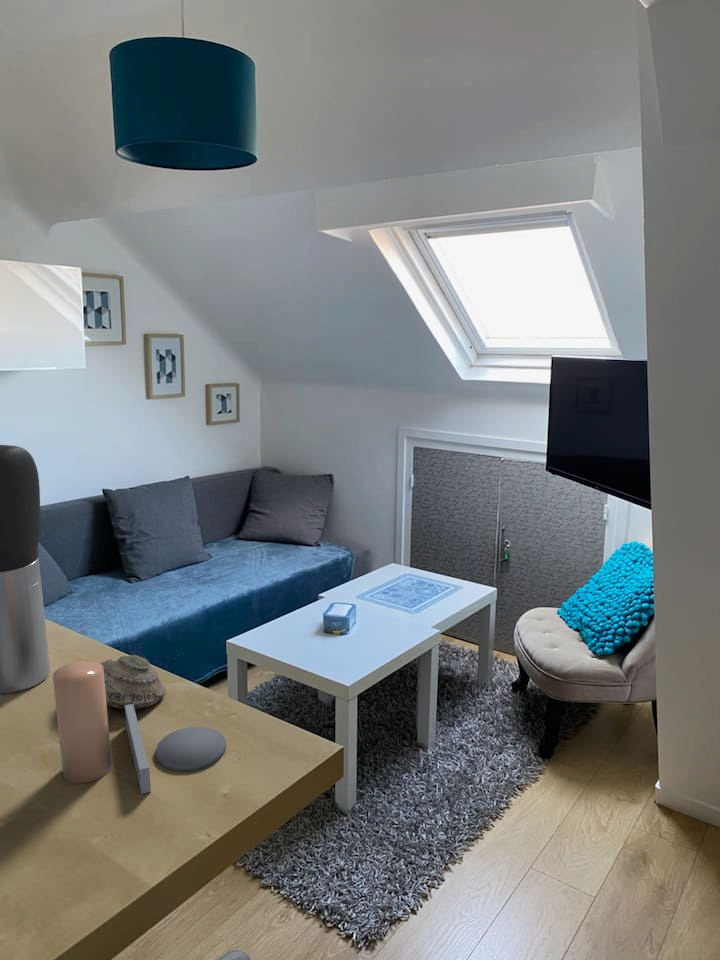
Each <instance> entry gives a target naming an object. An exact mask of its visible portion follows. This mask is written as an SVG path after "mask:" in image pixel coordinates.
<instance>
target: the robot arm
mask: <svg viewBox="0 0 720 960" xmlns="http://www.w3.org/2000/svg"><path fill="white" fill-rule="evenodd" d="M38 471H39V470H38V466H37V465H36V461H35V459H34V458H33V456H32V455H31V453H30V452H29V451H28V450H27V449H25V448H23V447H21V446H18V445H10V444H9V445H8V444H0V694H9V693H10V694H11V693H15V692H20V691H23V690H26V689H30V688H32V687H34V686H37V685H38V684H40V683H41V682H43V681H44V680H46V678H48V676H49V675H50V673H51V669H50V658H49V656H50V655H49V649H48V648H49V647H48V636H47V635H48V634H47V625H46V616H45V608H44V607H45V605H44V598H43V597H44V596H43V585H42V578H41V567H40V559H39V544H40V540H41V534H42V522H41V521H42V520H41V519H42V518H41V517H42V516H41V491H40V489H41V488H40V487H41V486H40V477H39V472H38Z"/></svg>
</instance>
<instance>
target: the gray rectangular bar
mask: <svg viewBox="0 0 720 960" xmlns="http://www.w3.org/2000/svg"><path fill="white" fill-rule="evenodd" d="M124 711H125V713H124V714H125V724H126V725H125V726H126V732H127V737H128V741H129V745H130V750H131V754H132V759H133V763H134V767H135V772H136V777H137V781H138V785H139V791H140V794H141V795H145V794H147V793H151V791H152V790H151V773H150V772H151V771H150V766H149V762H148V757H147V754H146V753H147V752H146V749H145V746H144V742H143V741H144V740H143V737H142V734H141V731H140V726H139V721H138V718H137V717H138V716H137V714H136V709H134V705H133V704H130V705H125V709H124Z"/></svg>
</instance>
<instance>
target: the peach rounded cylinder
mask: <svg viewBox="0 0 720 960" xmlns="http://www.w3.org/2000/svg"><path fill="white" fill-rule="evenodd" d="M100 663H101V662H98V661H93V660H80V661H79V660H78V661H73V662H71V663H66V664H64V665H62V666H60V667H58V668H57V669H56V670H55V671H54V672H53V674H52V681H53V692H54V702H55V710H56V711H55V712H56V720H57V721H56V723H57V732H58V739H59V741H58V742H59V748H60V749H59V750H60V758H61V760H60V761H61V770H62V777H63V778H64V780H65V781H67V782H70V783H74V784H84V783H85V784H87V783H90V782H94V781H96V780H98V779H101V778H103V777H104V776H105V775H107V774H108V773H109V772H110V770H111V769H112V765H113V764H112V753H111V752H112V751H111V740H110V730H109V718H108V717H109V716H108V706H107V704H106V692H105V681H104V669H103V666H102V664H100Z"/></svg>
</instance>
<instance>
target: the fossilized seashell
mask: <svg viewBox="0 0 720 960" xmlns="http://www.w3.org/2000/svg"><path fill="white" fill-rule="evenodd" d="M99 663H100V664H102V666H103V669H104V681H105V692H106V704H107V707H108V706H109V707H113V708H115V709H121V710H125V705H130V704H133V705H134V709H135V710H137V709H138V710H139V709H145V708H149V707H151V706H153V705H156V704H157V703H159V702H160V701H161V700H162V698H163V697H164V696H165V693H166V690H165V686H164V684H163V683H162V682H161V680H160V678H159V677H158V676H159V674H158V672H157V671H156V668H154V667H153V666H152V665H151V664H150V663H151V662H150V661H148V659H147V658H145V657H142V656H139V655H136V654H131V655H123V656H120V657H119V658H118V659H117V660H112V659H106V660H105V661H102V662H99Z"/></svg>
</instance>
